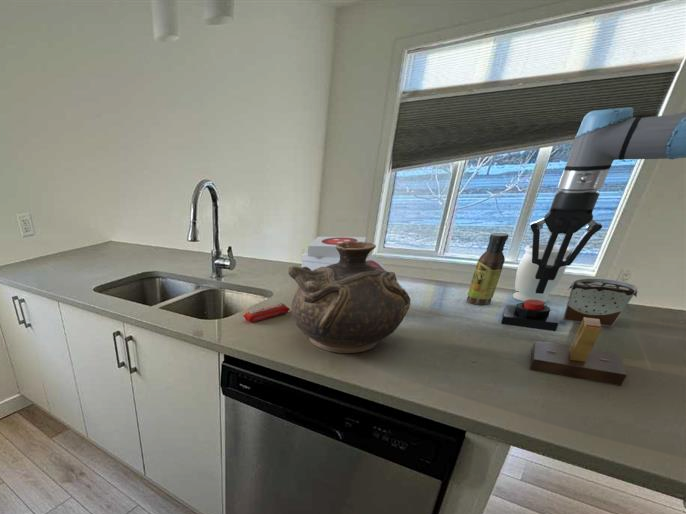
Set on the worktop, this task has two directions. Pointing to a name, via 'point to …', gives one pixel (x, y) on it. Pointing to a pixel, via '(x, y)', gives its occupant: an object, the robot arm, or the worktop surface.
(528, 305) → the set button
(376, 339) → the vessel
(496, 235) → the sauce bottle
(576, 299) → the food container
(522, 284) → the jar
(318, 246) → the pizza boxes
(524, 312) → the set button box
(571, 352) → the thumb turn
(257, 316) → the candy bar
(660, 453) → the worktop surface
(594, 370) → the plate
